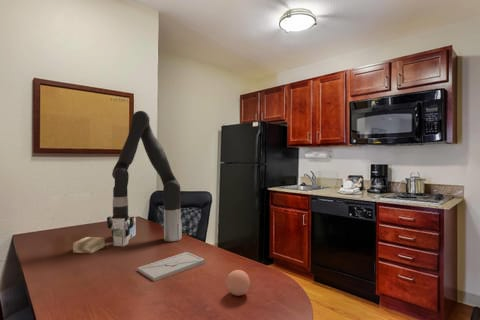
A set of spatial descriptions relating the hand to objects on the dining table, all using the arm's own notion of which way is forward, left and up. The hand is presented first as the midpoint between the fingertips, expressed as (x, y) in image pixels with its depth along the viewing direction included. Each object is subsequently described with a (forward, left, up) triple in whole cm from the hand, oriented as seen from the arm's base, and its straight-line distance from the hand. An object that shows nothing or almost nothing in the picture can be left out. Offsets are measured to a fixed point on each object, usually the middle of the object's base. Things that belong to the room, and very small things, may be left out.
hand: (120, 236), depth 144 cm
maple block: (+13, +7, -5) cm, 16 cm away
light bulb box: (+3, -14, -5) cm, 15 cm away
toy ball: (-64, +52, -5) cm, 83 cm away
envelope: (-36, +29, -5) cm, 46 cm away
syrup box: (0, 0, -5) cm, 5 cm away
